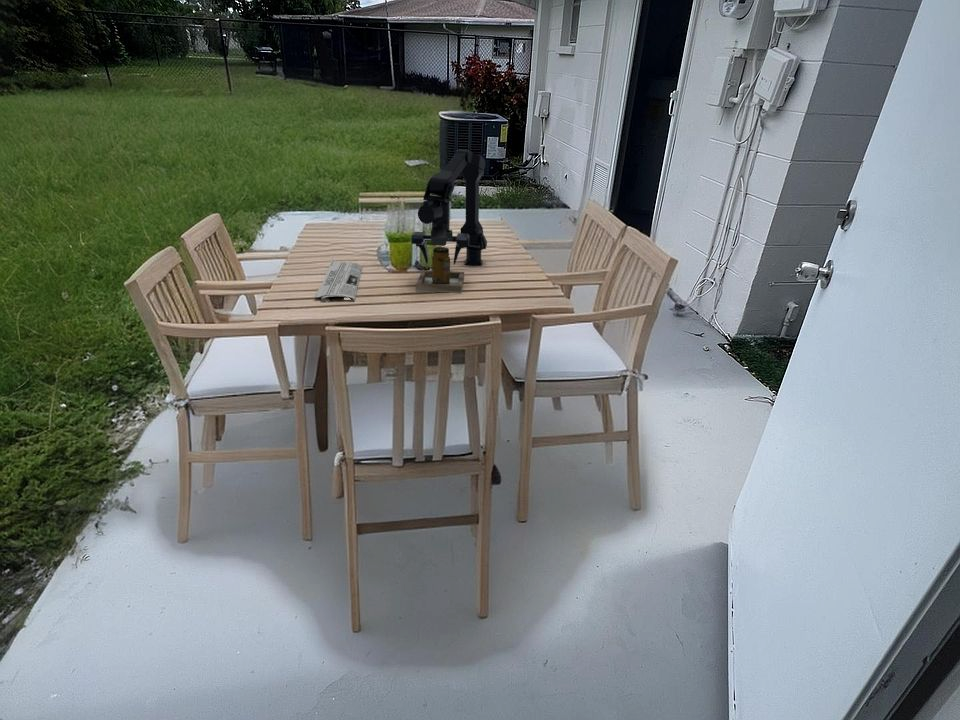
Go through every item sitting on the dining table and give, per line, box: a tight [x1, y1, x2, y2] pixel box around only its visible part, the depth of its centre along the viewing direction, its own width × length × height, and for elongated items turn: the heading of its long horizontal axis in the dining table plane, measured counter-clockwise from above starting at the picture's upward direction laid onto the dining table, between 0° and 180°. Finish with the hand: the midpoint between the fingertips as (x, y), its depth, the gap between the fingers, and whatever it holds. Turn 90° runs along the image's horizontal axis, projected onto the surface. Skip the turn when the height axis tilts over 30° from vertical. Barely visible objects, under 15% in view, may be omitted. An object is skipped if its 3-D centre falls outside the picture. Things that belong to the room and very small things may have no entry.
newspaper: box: [314, 259, 363, 303], centre depth 193 cm, size 35×12×4 cm, turn 6°
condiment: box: [428, 246, 455, 285], centre depth 191 cm, size 7×8×12 cm
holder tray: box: [415, 269, 465, 294], centre depth 194 cm, size 15×15×2 cm
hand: (440, 263), depth 191 cm, fingers open, 9 cm apart
